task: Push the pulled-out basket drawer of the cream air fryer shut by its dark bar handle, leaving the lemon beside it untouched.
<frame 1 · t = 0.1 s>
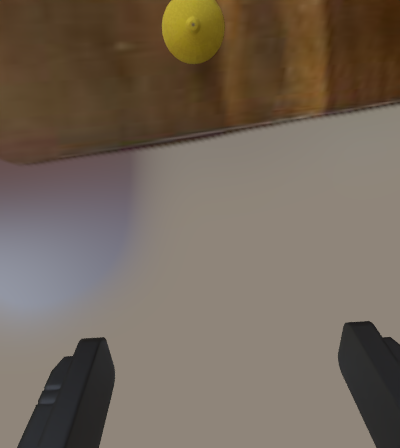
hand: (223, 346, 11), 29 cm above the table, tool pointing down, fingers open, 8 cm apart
lemon: (193, 32, 32), on the table
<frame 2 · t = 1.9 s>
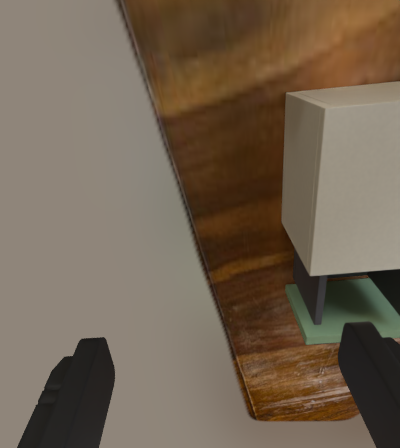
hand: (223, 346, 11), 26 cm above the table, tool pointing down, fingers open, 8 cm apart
air fryer: (341, 158, 35), on the table
drawer: (346, 281, 36), point 5 cm above the table, slide at 9.0 cm
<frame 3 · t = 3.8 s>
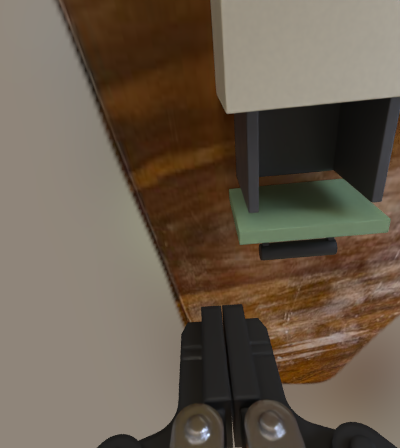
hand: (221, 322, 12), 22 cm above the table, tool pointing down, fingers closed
drawer: (300, 164, 26), point 5 cm above the table, slide at 9.0 cm
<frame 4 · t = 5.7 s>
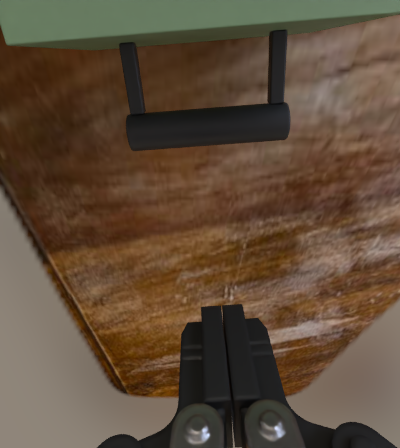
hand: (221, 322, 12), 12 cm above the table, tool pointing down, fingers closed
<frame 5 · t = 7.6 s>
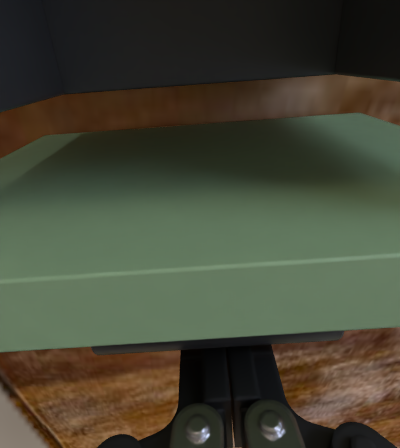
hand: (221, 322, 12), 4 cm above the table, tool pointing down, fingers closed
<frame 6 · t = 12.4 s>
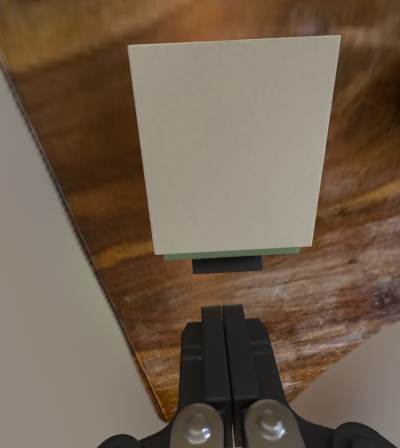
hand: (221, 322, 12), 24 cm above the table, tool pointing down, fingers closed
air fryer: (220, 131, 32), on the table
drawer: (226, 187, 29), point 5 cm above the table, slide at 0.0 cm
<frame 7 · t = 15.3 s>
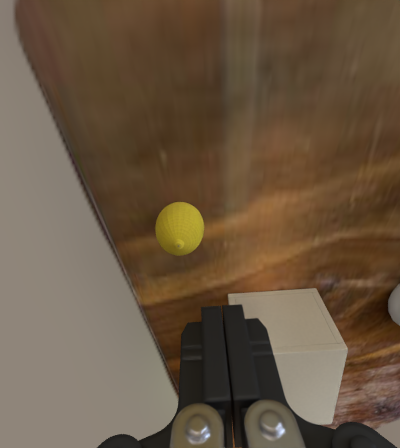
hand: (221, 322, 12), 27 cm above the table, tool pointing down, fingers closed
air fryer: (270, 327, 49), on the table
lemon: (181, 211, 40), on the table
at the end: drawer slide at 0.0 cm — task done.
